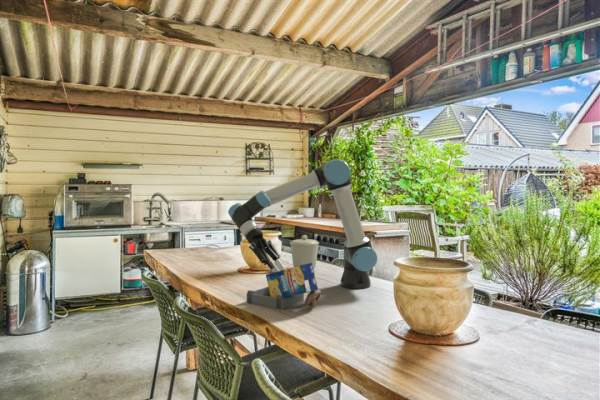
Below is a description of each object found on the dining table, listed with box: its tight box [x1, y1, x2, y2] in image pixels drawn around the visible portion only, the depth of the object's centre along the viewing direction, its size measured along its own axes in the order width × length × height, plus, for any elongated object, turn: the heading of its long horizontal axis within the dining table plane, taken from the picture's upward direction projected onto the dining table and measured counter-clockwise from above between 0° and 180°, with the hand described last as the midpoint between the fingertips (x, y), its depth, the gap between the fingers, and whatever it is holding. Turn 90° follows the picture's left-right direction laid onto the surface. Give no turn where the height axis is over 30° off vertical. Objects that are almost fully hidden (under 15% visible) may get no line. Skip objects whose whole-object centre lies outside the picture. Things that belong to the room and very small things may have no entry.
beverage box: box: [265, 263, 319, 298], centre depth 171 cm, size 7×11×22 cm
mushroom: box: [304, 289, 323, 310], centre depth 168 cm, size 8×6×8 cm
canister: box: [289, 234, 320, 270], centre depth 252 cm, size 18×18×21 cm
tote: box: [246, 286, 305, 310], centre depth 179 cm, size 19×16×5 cm
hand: (281, 273), depth 176 cm, fingers open, 4 cm apart
